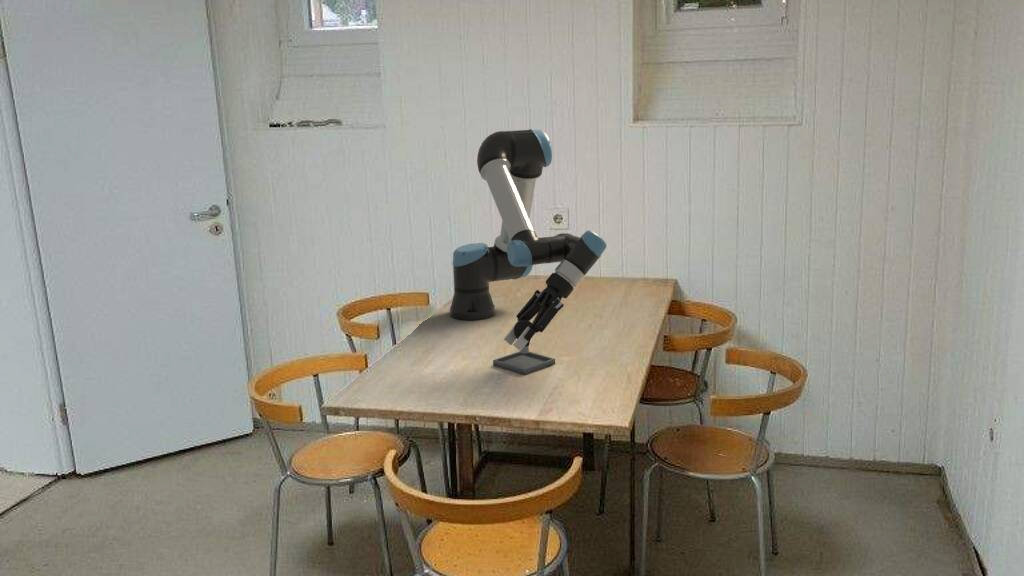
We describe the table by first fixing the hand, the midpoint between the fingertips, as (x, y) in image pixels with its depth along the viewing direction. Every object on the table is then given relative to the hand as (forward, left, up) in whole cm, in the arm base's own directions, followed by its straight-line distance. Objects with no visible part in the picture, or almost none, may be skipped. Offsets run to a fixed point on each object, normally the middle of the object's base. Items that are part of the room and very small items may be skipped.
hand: (512, 345), depth 249 cm
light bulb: (+1, +3, -4) cm, 5 cm away
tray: (+1, +3, -6) cm, 7 cm away
